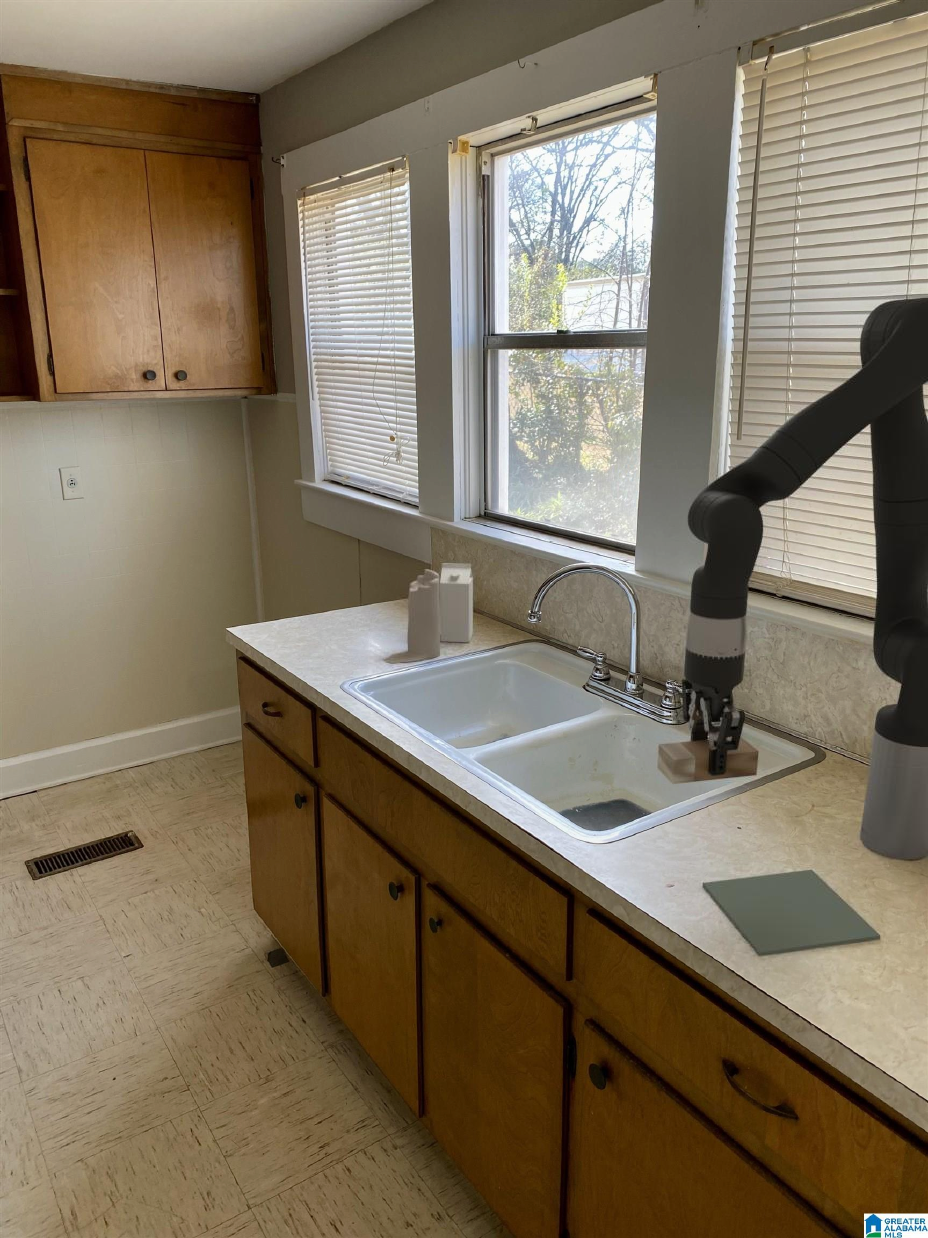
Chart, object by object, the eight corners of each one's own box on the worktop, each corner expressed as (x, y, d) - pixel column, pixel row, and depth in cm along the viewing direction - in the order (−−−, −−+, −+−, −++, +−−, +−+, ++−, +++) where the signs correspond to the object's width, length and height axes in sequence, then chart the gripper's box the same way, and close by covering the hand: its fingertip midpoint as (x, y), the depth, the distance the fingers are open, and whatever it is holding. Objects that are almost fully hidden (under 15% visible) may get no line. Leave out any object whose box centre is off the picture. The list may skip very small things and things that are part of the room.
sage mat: (811, 872, 125) (811, 869, 125) (880, 939, 111) (880, 935, 111) (702, 886, 122) (702, 883, 122) (759, 956, 108) (759, 952, 108)
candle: (378, 657, 214) (376, 574, 208) (430, 647, 220) (429, 566, 215) (392, 666, 208) (390, 580, 202) (445, 656, 214) (444, 573, 209)
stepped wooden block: (738, 759, 127) (740, 736, 126) (756, 775, 123) (758, 751, 122) (657, 767, 125) (658, 744, 124) (672, 784, 120) (674, 759, 119)
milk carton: (445, 633, 232) (444, 560, 226) (472, 634, 231) (472, 560, 225) (440, 642, 225) (439, 566, 220) (469, 643, 224) (469, 567, 219)
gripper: (770, 661, 113) (759, 786, 118) (716, 627, 126) (708, 741, 131) (713, 665, 111) (704, 792, 116) (665, 631, 125) (659, 746, 130)
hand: (707, 764), depth 124 cm, fingers closed on stepped wooden block, 5 cm apart
